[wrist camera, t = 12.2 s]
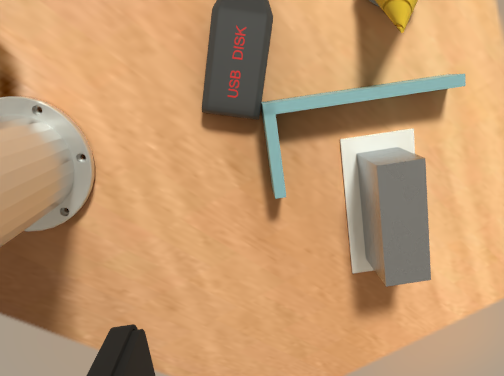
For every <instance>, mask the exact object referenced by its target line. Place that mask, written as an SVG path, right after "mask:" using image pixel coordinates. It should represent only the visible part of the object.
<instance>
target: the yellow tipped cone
mask: <svg viewBox="0 0 504 376" xmlns="http://www.w3.org/2000/svg"><path fill="white" fill-rule="evenodd" d="M369 1H371V2H372V3H373V4H374V5H376V6H378V7H381V9H382V10H383V11H384V12H385V14H386V15H387V16H388V17H389V18H390V20H391V21H392V22H393V23H394V25H395V26H397V28H398V30H399V31H400V32H401V33H403V32H404V30H405V28H406V25H407V23H408V21H409V19H410V16H411V14H412V12H413V10H414V8H415V5H416V3H417V1H418V0H369Z"/></svg>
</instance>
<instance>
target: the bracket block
mask: <svg viewBox="0 0 504 376" xmlns="http://www.w3.org/2000/svg"><path fill="white" fill-rule="evenodd" d="M357 164H358V176H359V187H360V198H361V210H362V221H363V232H364V244H365V255H366V260H367V261H368V262H369V264H370V265H371V267H372V268H373V269H374V271H375V272H376V273H377V275H378V276H379V278H380V279H381V280H382V282H383V283H384V285H385V286H386V287H387V286H393V285H400V284H406V283H413V282H420V281H426V280H431V272H430V251H429V229H428V208H427V186H426V164H425V158H423V157H421V156H418V155H416V154H413V153H411V152H409V151H406V150H404V149H401V148H399V147H395V148H389V149H382V150H376V151H369V152H363V153H357Z"/></svg>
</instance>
